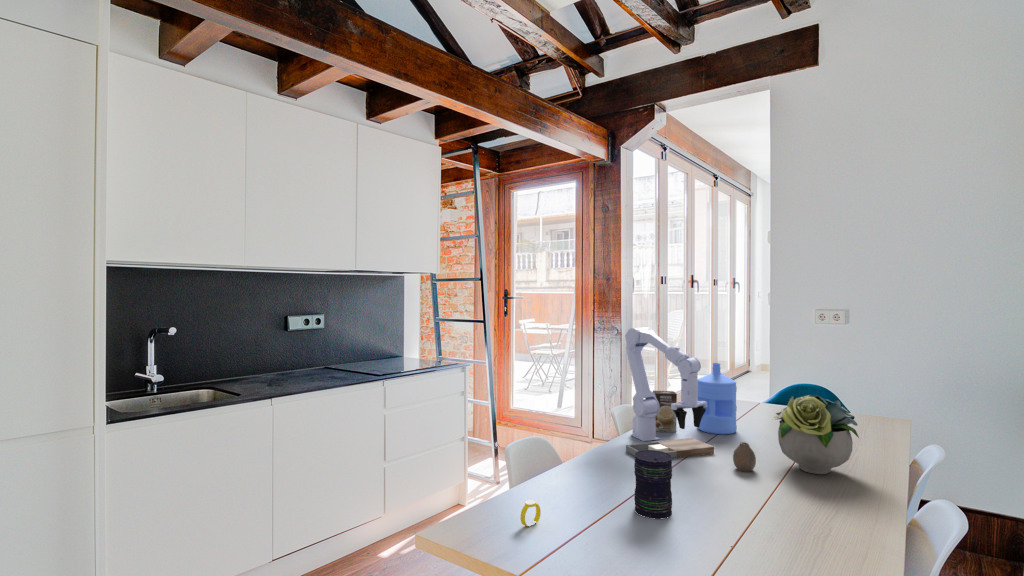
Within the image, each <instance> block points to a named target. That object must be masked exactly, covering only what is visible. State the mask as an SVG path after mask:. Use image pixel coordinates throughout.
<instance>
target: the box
mask: <svg viewBox="0 0 1024 576" xmlns="http://www.w3.org/2000/svg"><path fill="white" fill-rule="evenodd" d="M658 442H659V441H653V442H651V441H650V442H644V443H635V444H626V445H625V453H627V454H629V455H631V456H632V455H633V456H632V457H634V458H635V453H636V452H638V451H642V450H648V446H649V445H656V444H658ZM665 453H668V454H670V455H671V456H672V460H674V458H675V459H678V458H677V451H669V452H665Z"/></svg>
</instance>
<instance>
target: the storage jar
mask: <svg viewBox="0 0 1024 576" xmlns="http://www.w3.org/2000/svg"><path fill="white" fill-rule="evenodd" d="M672 461H673V459H672V456H671V455H670V454H668V453H665V452H661V451H655V450H642V451H638V452H636V453H635V457H634V466H633V467H634V468H633V469H634V476H635V488H634V496H633V497H634V499H633V500H634V512H635V511H636V512H637V513H638V514H637V513H636V512H635V513H636V514H637V515H639V514H640V515H642V516H641V517H643V516H645V517H644V518H646V517H649V518H648V519H650V518H655V519H654V520H662V519H661V518H665V519H667V517H668V518H670V517H671V516H672V515H673V511H672V508H673V492H672V479H673V462H672ZM640 515H639V516H640Z"/></svg>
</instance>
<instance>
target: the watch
mask: <svg viewBox="0 0 1024 576" xmlns="http://www.w3.org/2000/svg"><path fill="white" fill-rule="evenodd" d="M533 507H535V516H534V518H533V520H534V521H536V522H537V523H539V521H540V518H541V514H542V513H541V511H542V510H541V507H540V505H539V504H538V503H537V501H536V500H533V499H527V500H525V502H524V505H523V507H522V509H521V512H520V522H521V525H522V526H524V525H525V526H524V527H526V526H528V525H527V524H528V523H527V522H526V513H527V511H528V509H529V508H533Z"/></svg>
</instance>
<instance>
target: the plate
mask: <svg viewBox="0 0 1024 576" xmlns="http://www.w3.org/2000/svg"><path fill="white" fill-rule="evenodd" d="M657 442H658V444H661V445H663V446H665V447H668V448H669V451H677V458H676V459H683V458H689V457H698V455H699V456H706V455H714V454H715V447H714V446H713V445H711V444H709V443H706V442H703V441H701V440H698V439H696V438H694V437H688V438H680V439H679V438H678V439H670V440H669V439H668V440H662V441H659V440H658V441H657Z"/></svg>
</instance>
